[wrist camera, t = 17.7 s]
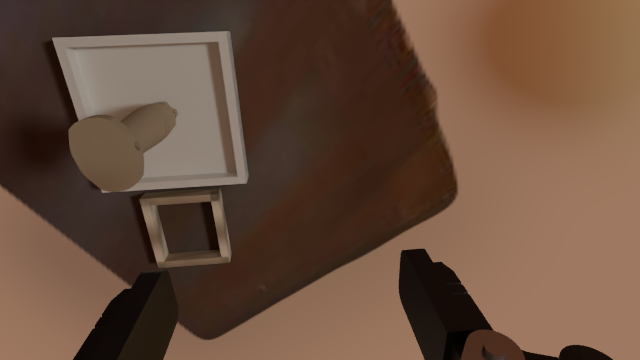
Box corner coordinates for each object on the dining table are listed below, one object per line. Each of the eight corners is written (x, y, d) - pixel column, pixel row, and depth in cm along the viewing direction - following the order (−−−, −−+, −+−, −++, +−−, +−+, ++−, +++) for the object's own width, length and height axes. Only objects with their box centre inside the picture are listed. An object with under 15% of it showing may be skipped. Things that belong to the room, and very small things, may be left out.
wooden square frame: (145, 192, 46) (139, 199, 45) (220, 187, 47) (217, 194, 45) (163, 259, 51) (158, 268, 49) (231, 254, 51) (229, 262, 50)
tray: (66, 37, 38) (51, 37, 36) (229, 31, 39) (226, 31, 37) (111, 184, 45) (102, 192, 43) (248, 175, 47) (246, 183, 44)
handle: (157, 143, 43) (95, 197, 29) (134, 93, 40) (55, 126, 27) (194, 134, 43) (150, 183, 29) (174, 83, 40) (114, 111, 27)
